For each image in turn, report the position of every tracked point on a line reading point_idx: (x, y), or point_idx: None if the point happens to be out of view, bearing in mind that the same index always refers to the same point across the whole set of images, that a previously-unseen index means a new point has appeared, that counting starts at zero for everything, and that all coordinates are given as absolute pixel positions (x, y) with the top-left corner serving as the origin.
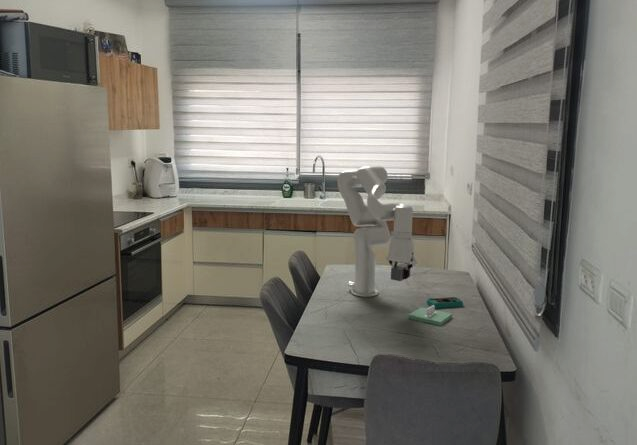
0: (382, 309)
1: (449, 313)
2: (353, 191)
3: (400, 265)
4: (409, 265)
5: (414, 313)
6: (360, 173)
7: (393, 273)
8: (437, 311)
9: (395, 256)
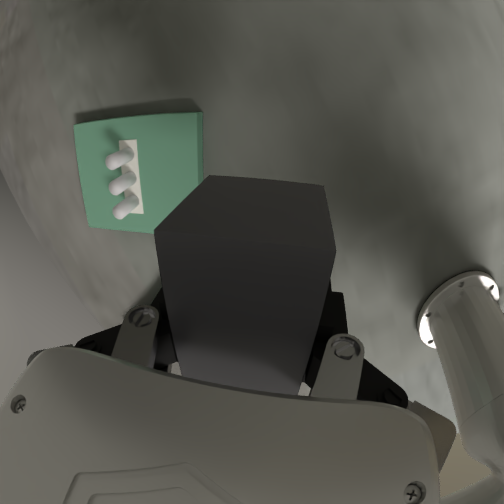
0: (357, 162)
1: (95, 226)
2: None
3: None
4: (101, 353)
5: (183, 146)
6: None
7: (289, 209)
8: (129, 223)
9: (266, 493)
